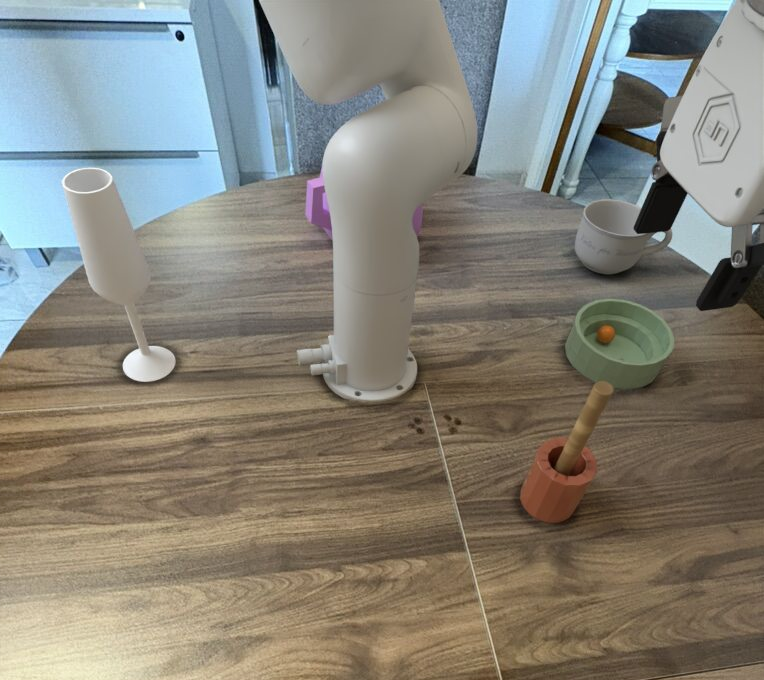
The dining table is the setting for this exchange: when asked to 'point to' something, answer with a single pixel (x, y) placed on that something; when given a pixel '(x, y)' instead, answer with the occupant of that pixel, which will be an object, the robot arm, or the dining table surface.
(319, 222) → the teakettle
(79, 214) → the champagne flute
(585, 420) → the stick
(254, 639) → the dining table surface
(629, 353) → the bowl
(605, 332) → the bead
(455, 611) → the dining table surface
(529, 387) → the dining table surface
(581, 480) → the holder
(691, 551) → the dining table surface
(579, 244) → the teacup
